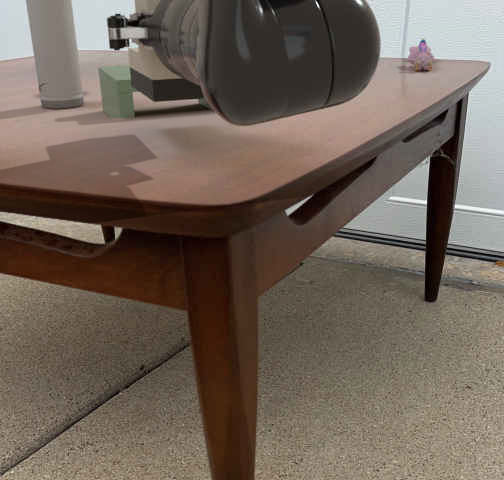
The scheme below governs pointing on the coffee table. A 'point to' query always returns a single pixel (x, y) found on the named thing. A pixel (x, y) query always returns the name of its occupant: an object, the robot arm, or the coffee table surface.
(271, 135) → the coffee table surface
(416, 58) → the rabbit figure
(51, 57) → the travel mug
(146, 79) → the beige dark-bottomed block
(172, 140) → the coffee table surface
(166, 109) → the coffee table surface
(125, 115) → the shoe shelf
